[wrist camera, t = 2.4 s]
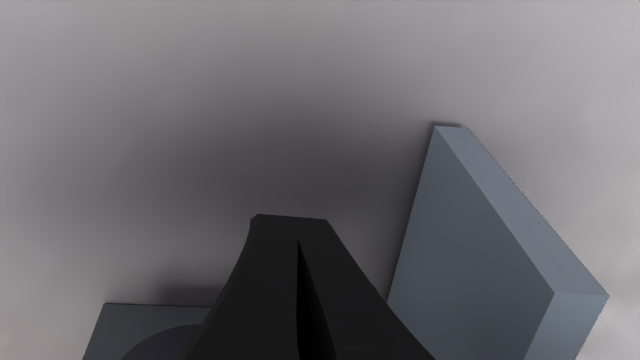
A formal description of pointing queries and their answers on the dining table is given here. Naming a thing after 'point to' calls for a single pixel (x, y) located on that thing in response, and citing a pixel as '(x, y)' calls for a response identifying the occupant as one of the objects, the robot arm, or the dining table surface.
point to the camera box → (143, 332)
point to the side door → (487, 265)
